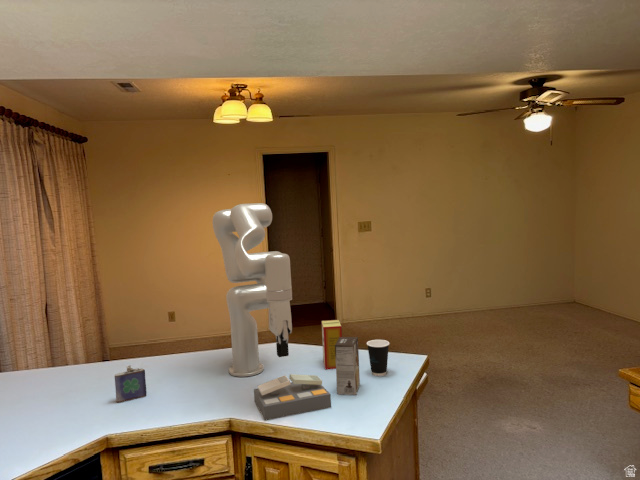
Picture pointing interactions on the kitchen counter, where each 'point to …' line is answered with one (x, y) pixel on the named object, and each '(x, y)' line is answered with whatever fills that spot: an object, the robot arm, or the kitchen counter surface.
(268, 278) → the robot arm
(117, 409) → the kitchen counter surface
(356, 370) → the coffee box
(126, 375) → the flask
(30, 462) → the kitchen counter surface
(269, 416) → the switch unit
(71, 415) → the kitchen counter surface
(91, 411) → the kitchen counter surface
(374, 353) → the dixie cup
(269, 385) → the rocker offwhite
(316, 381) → the block
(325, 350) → the baking soda box
